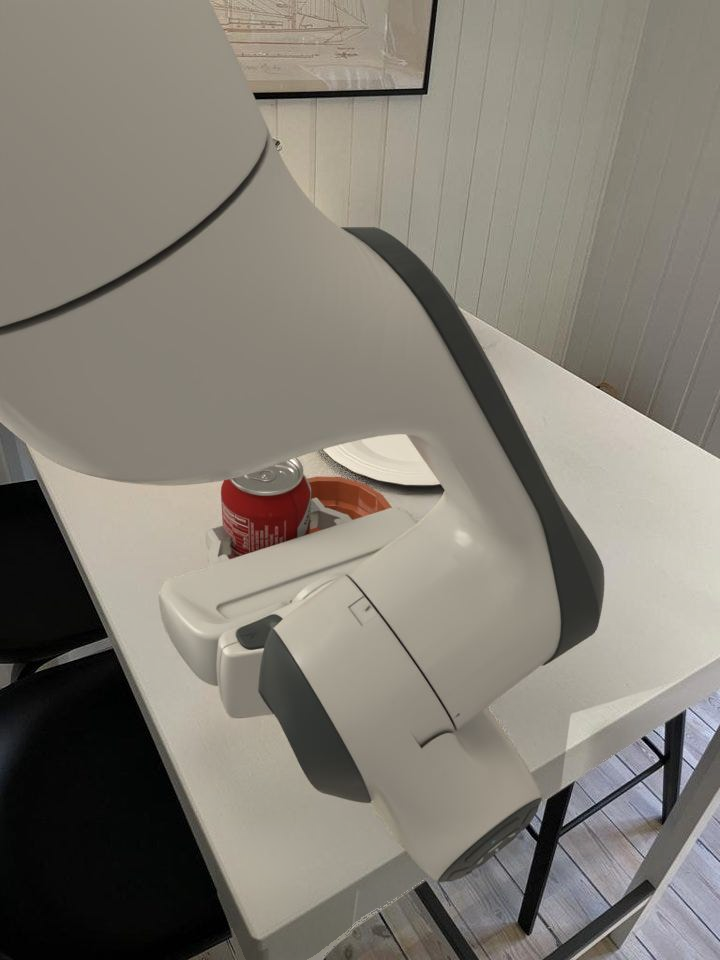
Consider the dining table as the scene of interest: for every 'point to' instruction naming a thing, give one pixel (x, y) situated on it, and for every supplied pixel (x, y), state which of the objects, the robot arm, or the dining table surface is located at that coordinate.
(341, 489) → the clay bowl
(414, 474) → the plate
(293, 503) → the soda can
